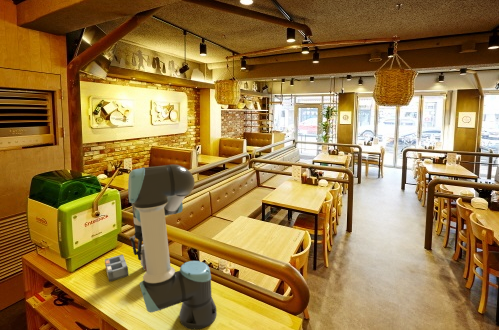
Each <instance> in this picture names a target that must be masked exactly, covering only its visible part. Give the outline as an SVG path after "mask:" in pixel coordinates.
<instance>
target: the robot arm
mask: <svg viewBox="0 0 499 330" xmlns="http://www.w3.org/2000/svg"><path fill="white" fill-rule="evenodd" d="M127 183H128V184H127V187H128V188H127V190H128V203H130V204H131V207H132V209H131V210H132V216H133V218H132V219H133V224H134V235H132V236H129V240H130V242H131V246H132V252H133V255H134V256H137V259H138V261H140V265H141V266H142V267H143V257H142V253H141V246H142V245H144V253H145V261H146V269H147V272H146V271H145V273H144V274H143V277H142V279H143V280H142V281H140V282H139V287H140V290H141V294H142V297H143V301H144V305H145V308H146V311H147V312H148V313H155V312H158V311H160V312H161V311H162V310H163V309H164V310H165V309H168V308H170V307H172V306H176V305H179V304H181V305H180V310H179V322H180V324H181V325H182V327H184V328H186V329H188V330H202V329H205V328H207V327H208V326H210V325H212V324H213V323H214V321H215V320H216V318H217V311H218V310H217V306H216V303H215V301H214V299H213V295H212V274H211V268H210V267H209V265H208V264H207V263H205V262H203V261H200V260H190V261H186V262H184V263H183V264H181V266H180V267H179V270H177V271H176V270H175V268H174V267H172V266H171V261H170V259H171V258H170V252H169V251H170V250H169V240H168V239H169V238H168V231H167V223H166V216H170V215H176V214H181V213H182V212H183V208H184V206H183V202H184V199H185V198H186V196H189V195H190V194H191V193H192V191H193V190H194V188H195V177H194V175H193V174H192V172H191V171H190V170H189V169H188V168H186V167H184V166H182V165H179V164H174V163H173V164H166V165H158V166H147V167H141V168H136V169H132V170H131V171H130V172H129V173H128V182H127ZM136 239H137V245H136V242H135V240H136ZM136 246H137V247H136Z"/></svg>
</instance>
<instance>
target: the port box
mask: <svg viewBox="0 0 499 330" xmlns="http://www.w3.org/2000/svg"><path fill="white" fill-rule="evenodd" d="M104 265H105V270H106V274H107V278H108V281H109V283H111V282H113V281H116V280H119V279H122V278H126V277H129V275H130V274H129V269H128V268H129V267H128V264H127V262H126V259H125V256H124V254H120V255H117V256H113V257H108V258H105V259H104Z"/></svg>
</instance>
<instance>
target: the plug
mask: <svg viewBox="0 0 499 330" xmlns="http://www.w3.org/2000/svg"><path fill="white" fill-rule="evenodd" d="M141 253H142V257H143V266H142V269H143V271H146V270H145V266H146V261H145V253H144V245H143V244H142V246H141Z"/></svg>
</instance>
